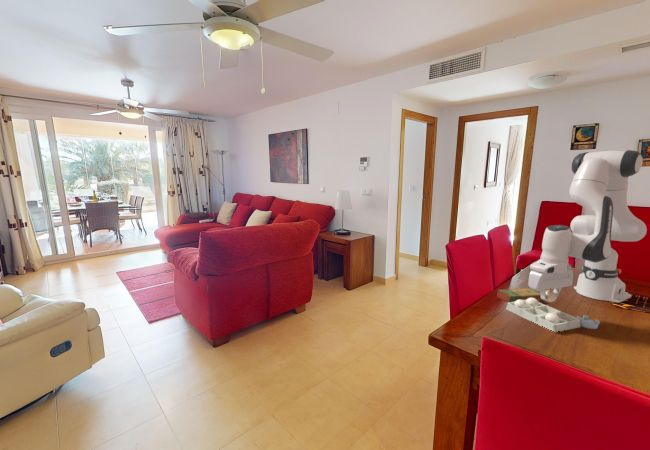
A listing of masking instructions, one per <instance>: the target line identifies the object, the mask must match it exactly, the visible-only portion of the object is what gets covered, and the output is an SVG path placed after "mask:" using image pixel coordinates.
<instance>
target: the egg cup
mask: <svg viewBox="0 0 650 450" xmlns="http://www.w3.org/2000/svg"><path fill="white" fill-rule="evenodd" d="M589 317H590V316H589V315H585V314H583V316H582V317H581V316H578V315H577V316H576V318H578V319H581V327H582V328H585V329H589V330H590V329H591V330H597V329H599V325H600V320H599V319H596V318H595V320H592V319H589Z"/></svg>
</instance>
